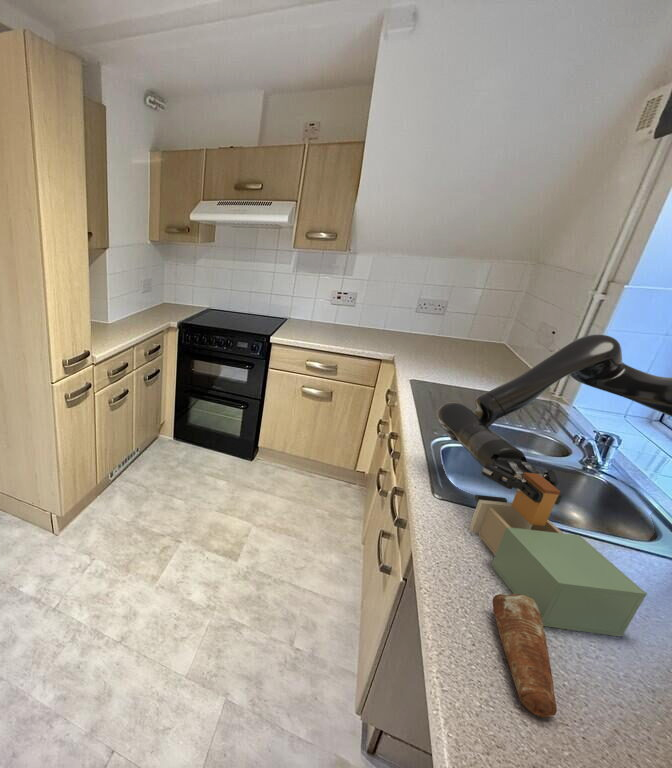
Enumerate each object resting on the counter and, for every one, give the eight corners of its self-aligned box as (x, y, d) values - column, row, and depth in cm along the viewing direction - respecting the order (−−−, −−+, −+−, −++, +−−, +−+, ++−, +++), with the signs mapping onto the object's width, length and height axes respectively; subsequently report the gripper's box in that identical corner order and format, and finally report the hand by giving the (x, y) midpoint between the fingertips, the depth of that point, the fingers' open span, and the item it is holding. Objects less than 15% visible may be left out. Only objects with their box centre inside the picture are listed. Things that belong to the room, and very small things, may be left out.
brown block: (524, 506, 85) (538, 473, 82) (545, 526, 80) (560, 491, 77) (510, 505, 86) (523, 472, 83) (530, 524, 80) (545, 490, 77)
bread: (532, 624, 71) (544, 600, 69) (558, 731, 56) (574, 704, 53) (487, 606, 74) (497, 583, 72) (500, 703, 59) (513, 676, 57)
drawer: (455, 512, 97) (465, 484, 94) (508, 518, 96) (520, 490, 93) (503, 571, 80) (516, 539, 78) (568, 579, 79) (584, 547, 76)
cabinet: (491, 565, 83) (506, 527, 80) (560, 574, 81) (579, 535, 78) (538, 625, 70) (558, 582, 67) (622, 637, 69) (647, 593, 65)
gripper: (466, 435, 93) (515, 478, 77) (534, 441, 91) (599, 487, 75) (456, 464, 96) (502, 511, 80) (522, 470, 94) (582, 520, 78)
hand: (548, 499), depth 78 cm, fingers closed on brown block, 2 cm apart
